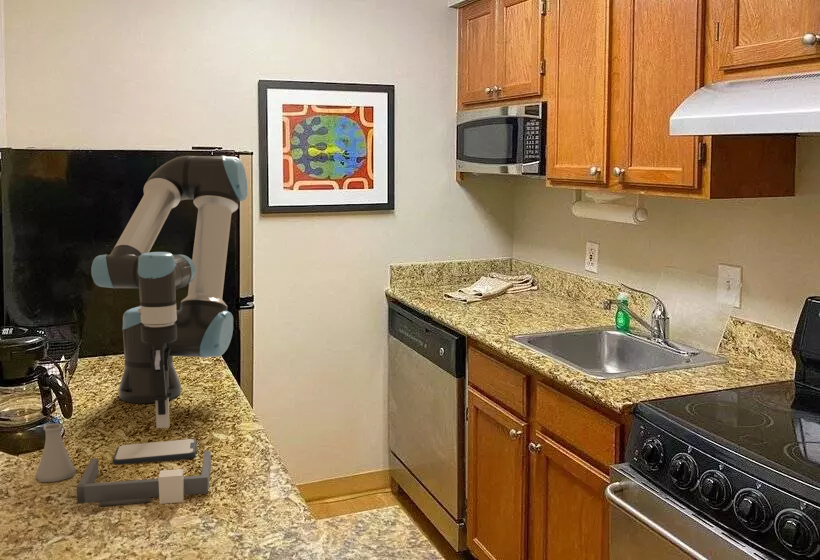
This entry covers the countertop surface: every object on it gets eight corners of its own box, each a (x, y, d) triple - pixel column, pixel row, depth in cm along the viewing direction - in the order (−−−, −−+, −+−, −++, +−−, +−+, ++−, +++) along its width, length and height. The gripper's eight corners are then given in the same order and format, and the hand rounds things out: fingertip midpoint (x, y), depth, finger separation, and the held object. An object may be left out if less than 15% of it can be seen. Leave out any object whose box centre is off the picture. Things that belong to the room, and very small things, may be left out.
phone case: (112, 468, 153) (195, 460, 156) (111, 460, 153) (195, 453, 156) (118, 452, 161) (197, 444, 165) (117, 444, 161) (196, 437, 165)
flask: (35, 486, 143) (32, 435, 141) (34, 472, 149) (30, 422, 148) (78, 479, 146) (74, 429, 145) (74, 465, 152) (71, 417, 151)
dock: (92, 473, 149) (90, 448, 148) (211, 464, 153) (210, 440, 153) (74, 510, 133) (72, 483, 132) (207, 500, 138) (206, 473, 137)
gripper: (144, 317, 173) (149, 418, 177) (136, 330, 160) (141, 438, 164) (179, 316, 175) (182, 416, 178) (174, 329, 162) (178, 436, 166)
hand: (163, 426), depth 171 cm, fingers closed
